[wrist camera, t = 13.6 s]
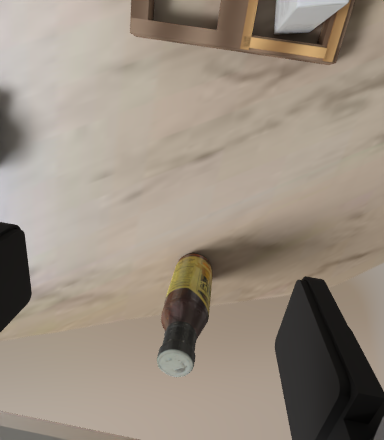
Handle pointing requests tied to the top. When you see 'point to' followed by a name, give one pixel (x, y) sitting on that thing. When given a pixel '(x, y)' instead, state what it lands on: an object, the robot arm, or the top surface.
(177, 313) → the sauce bottle
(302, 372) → the robot arm
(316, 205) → the top surface
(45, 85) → the top surface
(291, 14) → the skincare box
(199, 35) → the wooden flat frame
